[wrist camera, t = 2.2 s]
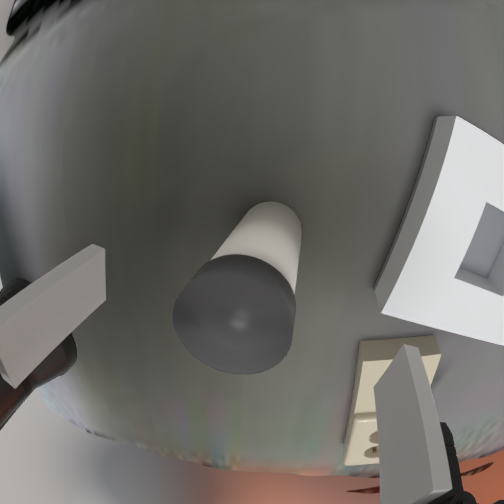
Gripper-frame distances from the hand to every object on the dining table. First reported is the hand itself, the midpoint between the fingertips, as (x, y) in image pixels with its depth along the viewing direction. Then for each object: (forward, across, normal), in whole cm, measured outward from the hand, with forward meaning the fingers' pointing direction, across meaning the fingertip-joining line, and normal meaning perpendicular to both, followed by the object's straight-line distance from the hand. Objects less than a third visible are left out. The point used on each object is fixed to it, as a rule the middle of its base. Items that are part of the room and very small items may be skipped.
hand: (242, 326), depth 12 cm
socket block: (+12, +15, +5) cm, 20 cm away
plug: (+12, -1, 0) cm, 12 cm away
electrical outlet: (+12, +16, -15) cm, 25 cm away
